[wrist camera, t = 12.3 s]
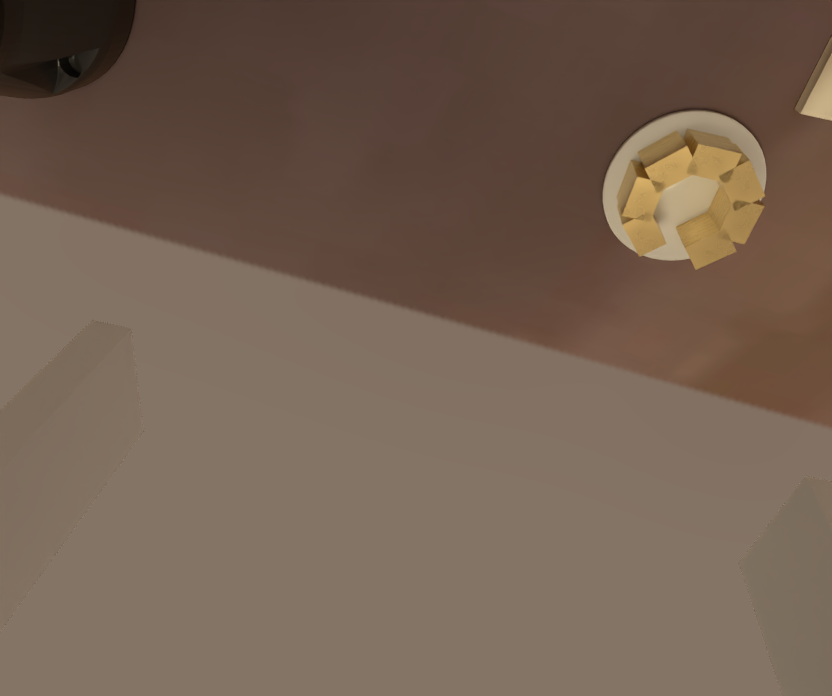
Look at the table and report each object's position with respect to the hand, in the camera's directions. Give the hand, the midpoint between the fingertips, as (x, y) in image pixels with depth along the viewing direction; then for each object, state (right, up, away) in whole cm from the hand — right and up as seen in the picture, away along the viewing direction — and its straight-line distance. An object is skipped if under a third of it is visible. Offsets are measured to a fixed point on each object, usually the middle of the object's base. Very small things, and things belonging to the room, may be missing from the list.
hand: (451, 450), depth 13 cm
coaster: (+15, +12, +25) cm, 32 cm away
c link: (+15, +11, +25) cm, 31 cm away
